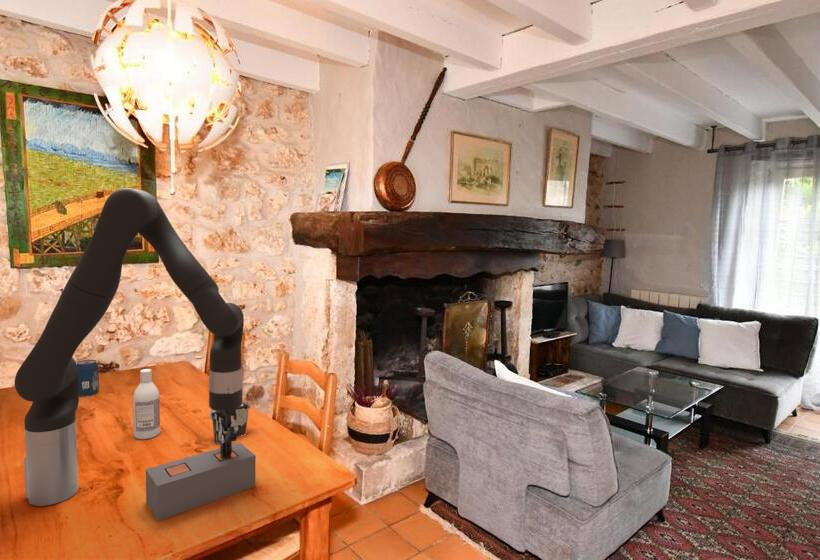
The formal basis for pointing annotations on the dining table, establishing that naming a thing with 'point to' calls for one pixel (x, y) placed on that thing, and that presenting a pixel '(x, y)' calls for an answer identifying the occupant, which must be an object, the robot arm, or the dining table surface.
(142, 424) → the bath foam
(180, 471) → the peg near
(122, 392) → the dining table surface
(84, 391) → the soda can
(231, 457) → the peg far
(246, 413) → the half cake
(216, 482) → the guide block
